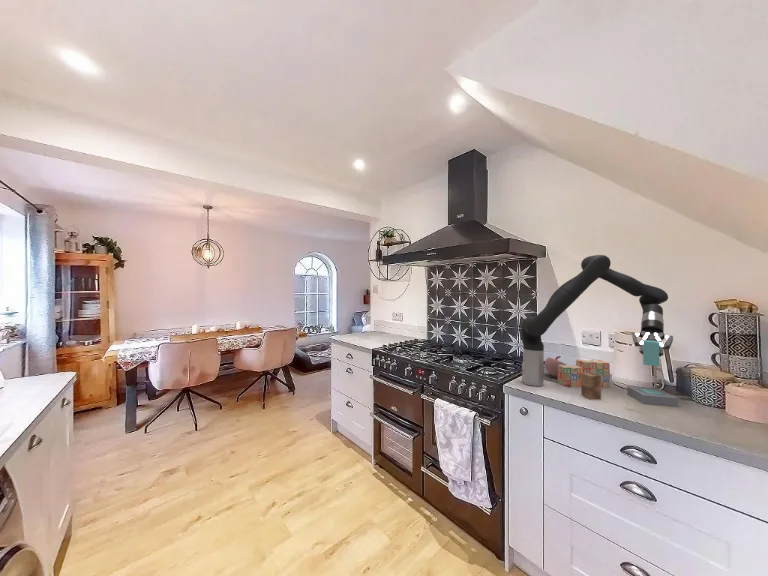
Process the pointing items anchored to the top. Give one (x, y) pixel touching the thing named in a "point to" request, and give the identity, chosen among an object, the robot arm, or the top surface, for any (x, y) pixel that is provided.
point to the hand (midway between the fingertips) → (651, 354)
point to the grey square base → (652, 396)
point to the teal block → (651, 353)
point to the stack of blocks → (572, 373)
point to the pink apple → (553, 365)
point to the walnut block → (591, 385)
